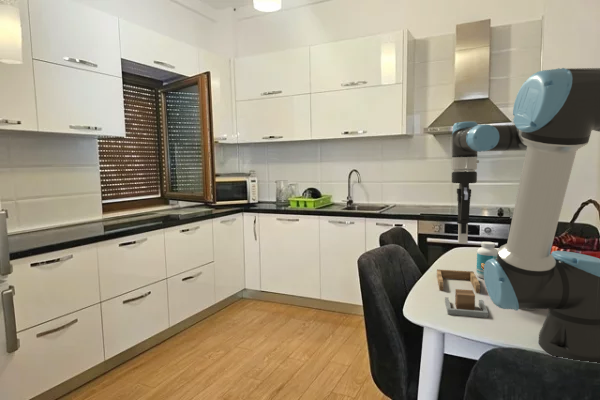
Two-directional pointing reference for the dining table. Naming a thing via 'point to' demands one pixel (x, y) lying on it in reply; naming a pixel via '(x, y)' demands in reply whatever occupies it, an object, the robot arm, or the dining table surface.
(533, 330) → the dining table surface
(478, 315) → the grey u-shaped bracket
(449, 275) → the brown u-shaped frame
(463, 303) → the cube
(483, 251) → the pill bottle
